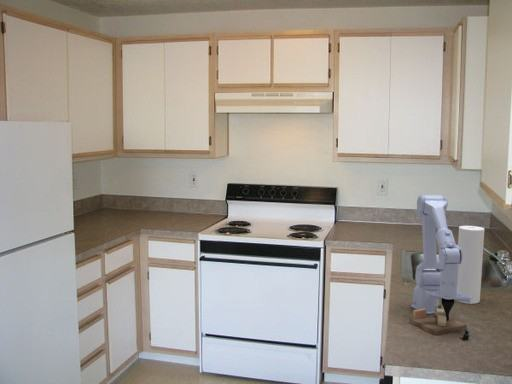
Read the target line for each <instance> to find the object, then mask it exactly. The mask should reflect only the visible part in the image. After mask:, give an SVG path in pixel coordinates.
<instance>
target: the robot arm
mask: <svg viewBox="0 0 512 384" xmlns="http://www.w3.org/2000/svg"><path fill="white" fill-rule="evenodd" d="M448 202H449V201H448V198H447V195H445V194H420V195H418V197H417V200H416V213H417V217H419V218H421V226H422V227H421V228H422V234H421V235H422V258H423V259H422V260H423V261H421V262H420V263H419V264H418V265H417V266H416V268H415V276H414V277H415V284H416V285H415V287H414V289H413V292H412V293H413V295H412V304H411V305H410V307H411V308H413V309H414V310H418V309H423V308H424V309H427V311H426V315H431V314H435V306H438V305H440V302H441V306H442V307H443V308H444V312H445V315H446V321H449V317H450V312H451V310H452V308H453V307H454V305H455V302H459V301H463V302H467V303H466V304H468V303H470V301H471V296H467V295H462V294H458V293H457V285H458V267H459V265H458V264H460V263H461V262H462V252H461V249H460V248H459V247H458V244H456V240H455V237H454V234H453V231H452V230H451V229H449V228H448V222H447V217H446V212H447V209H448ZM437 246H438V256H437ZM437 257H438V258H437ZM437 260H438V261H439V262H438V261H437ZM440 300H441V301H440Z"/></svg>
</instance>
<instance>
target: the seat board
mask: <svg viewBox="0 0 512 384" xmlns="http://www.w3.org/2000/svg"><path fill="white" fill-rule="evenodd" d="M409 323H410V324H411V325H414V326H416V327H418V328H419V329H421V330H424V331H426V332H427V333H429V334H432V335H434V336H440V335H444V334H449V333H454V332H459V331H464V330H465V329H467V327H468V325H467V324H466V323H463V322H461V321H459V320H456V319H454V318H452V317H450V316H449V321H446V326H439V325H438V322H437V318H436V316H435V313H432V314H426V317H423V318H418V319H414V318H413V317H410V318H409Z"/></svg>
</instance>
